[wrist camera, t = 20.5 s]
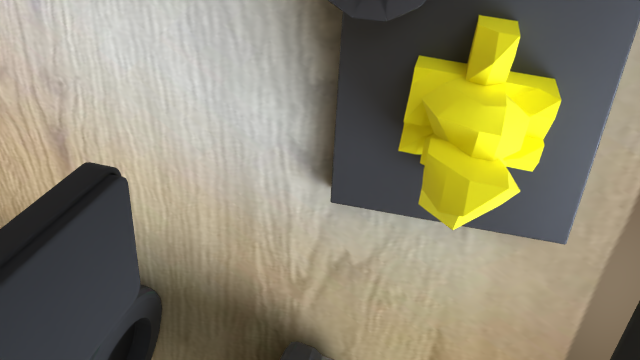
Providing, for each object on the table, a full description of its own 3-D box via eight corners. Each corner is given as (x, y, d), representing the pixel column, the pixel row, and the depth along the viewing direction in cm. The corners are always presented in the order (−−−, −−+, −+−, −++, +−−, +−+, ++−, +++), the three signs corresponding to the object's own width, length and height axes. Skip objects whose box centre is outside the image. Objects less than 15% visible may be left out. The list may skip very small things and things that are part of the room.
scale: (329, -136, 24) (310, -135, 21) (673, -116, 21) (698, -113, 18) (314, 186, 32) (299, 214, 29) (563, 229, 29) (569, 264, 26)
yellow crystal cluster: (571, 29, 23) (603, 97, 16) (517, 194, 27) (525, 300, 21) (428, 6, 24) (405, 62, 17) (397, 168, 28) (369, 262, 22)
